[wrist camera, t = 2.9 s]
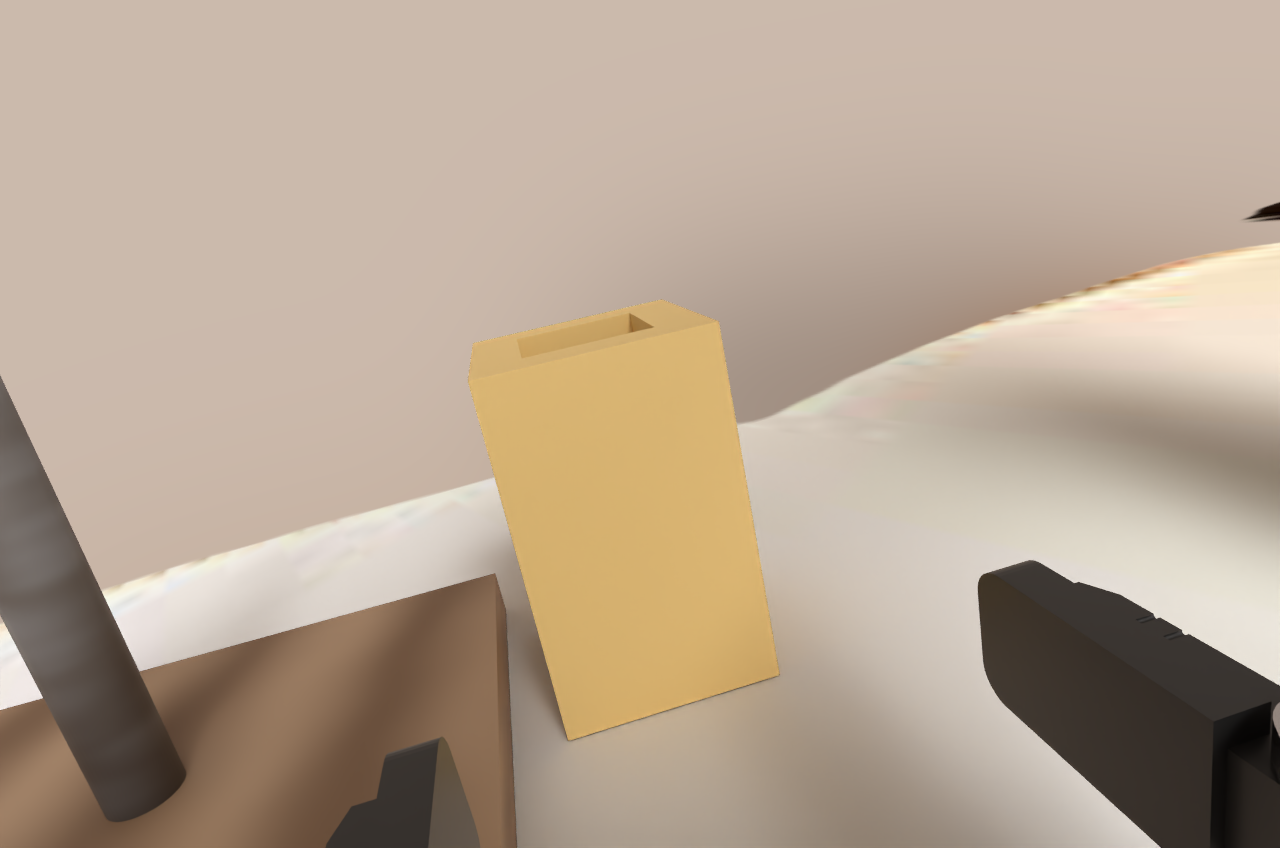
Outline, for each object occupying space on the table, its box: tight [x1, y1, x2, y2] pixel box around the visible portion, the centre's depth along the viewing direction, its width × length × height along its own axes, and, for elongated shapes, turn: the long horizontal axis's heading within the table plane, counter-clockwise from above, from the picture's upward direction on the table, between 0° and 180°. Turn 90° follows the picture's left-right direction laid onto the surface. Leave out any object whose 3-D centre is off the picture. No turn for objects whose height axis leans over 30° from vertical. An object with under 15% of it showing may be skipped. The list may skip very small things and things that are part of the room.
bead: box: [468, 299, 780, 741], centre depth 21 cm, size 6×6×10 cm
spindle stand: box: [0, 376, 517, 848], centre depth 17 cm, size 18×14×15 cm
